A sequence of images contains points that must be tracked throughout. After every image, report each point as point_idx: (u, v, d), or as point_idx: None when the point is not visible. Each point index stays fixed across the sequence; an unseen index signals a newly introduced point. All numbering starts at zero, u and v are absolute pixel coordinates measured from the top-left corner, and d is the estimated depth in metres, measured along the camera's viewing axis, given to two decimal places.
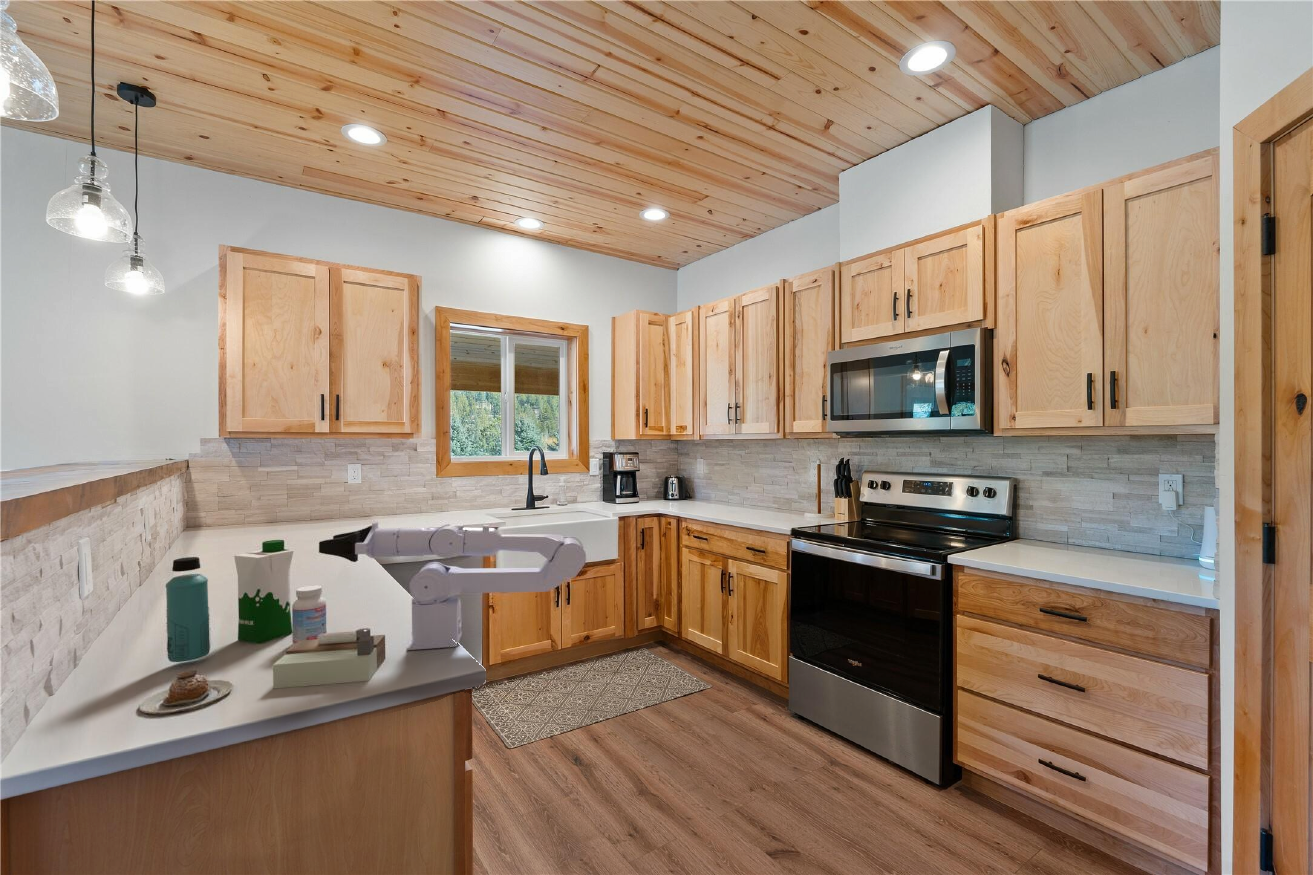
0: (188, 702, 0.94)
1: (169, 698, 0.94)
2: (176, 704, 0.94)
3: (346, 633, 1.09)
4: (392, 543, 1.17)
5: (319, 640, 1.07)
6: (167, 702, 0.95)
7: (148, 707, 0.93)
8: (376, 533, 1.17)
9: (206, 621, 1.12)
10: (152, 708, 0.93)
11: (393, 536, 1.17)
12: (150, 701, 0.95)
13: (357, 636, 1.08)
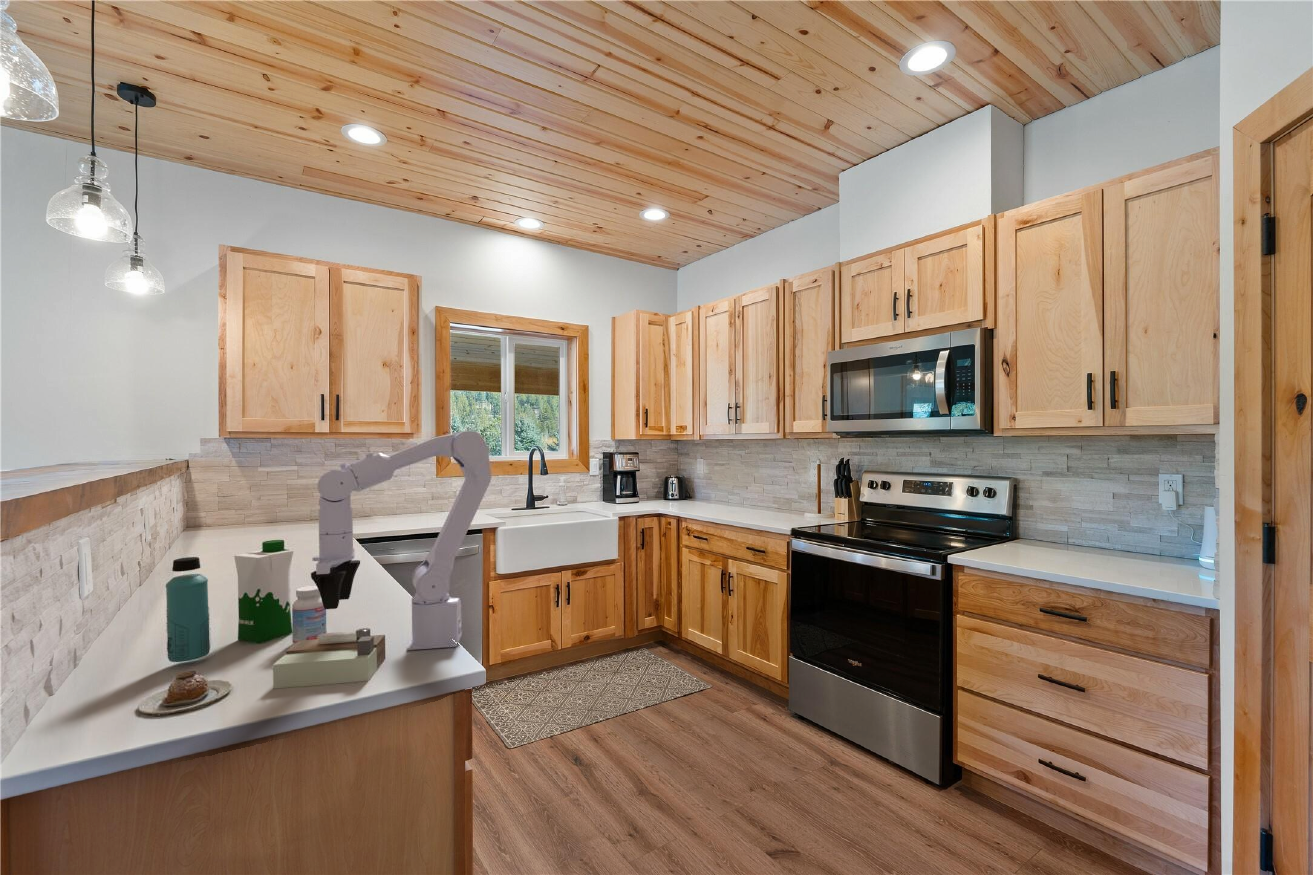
0: (187, 702, 0.94)
1: (168, 698, 0.94)
2: (175, 704, 0.94)
3: (346, 633, 1.09)
4: (329, 538, 1.10)
5: (319, 640, 1.07)
6: (166, 702, 0.94)
7: (147, 708, 0.92)
8: (320, 555, 1.11)
9: (206, 621, 1.12)
10: (151, 708, 0.92)
11: (322, 538, 1.11)
12: (149, 701, 0.95)
13: (357, 636, 1.08)
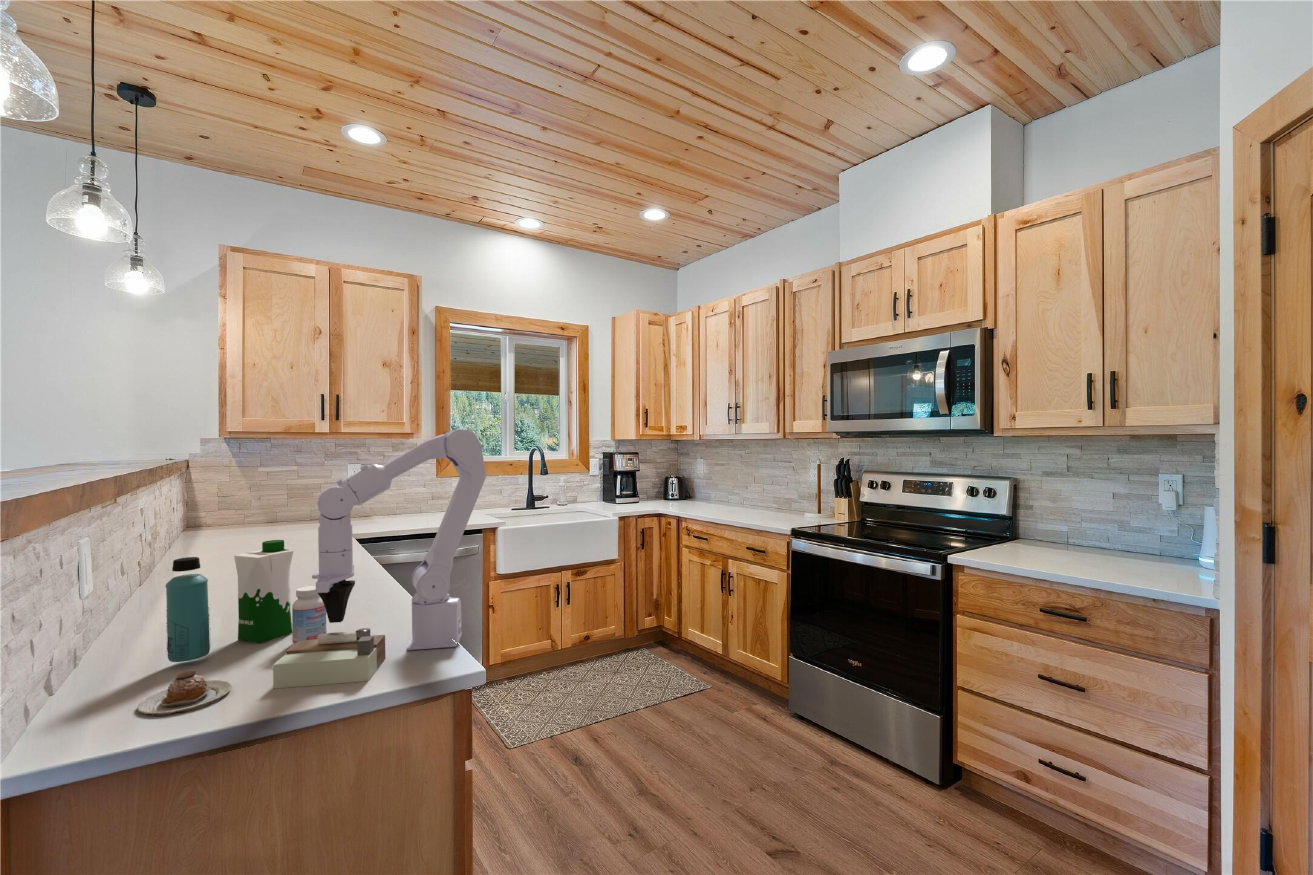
0: (187, 702, 0.94)
1: (167, 698, 0.94)
2: (174, 704, 0.93)
3: (346, 633, 1.09)
4: (329, 556, 1.10)
5: (319, 640, 1.07)
6: (165, 702, 0.94)
7: (146, 708, 0.92)
8: (320, 573, 1.11)
9: (206, 621, 1.12)
10: (150, 709, 0.92)
11: (322, 556, 1.10)
12: (148, 701, 0.95)
13: (357, 636, 1.08)
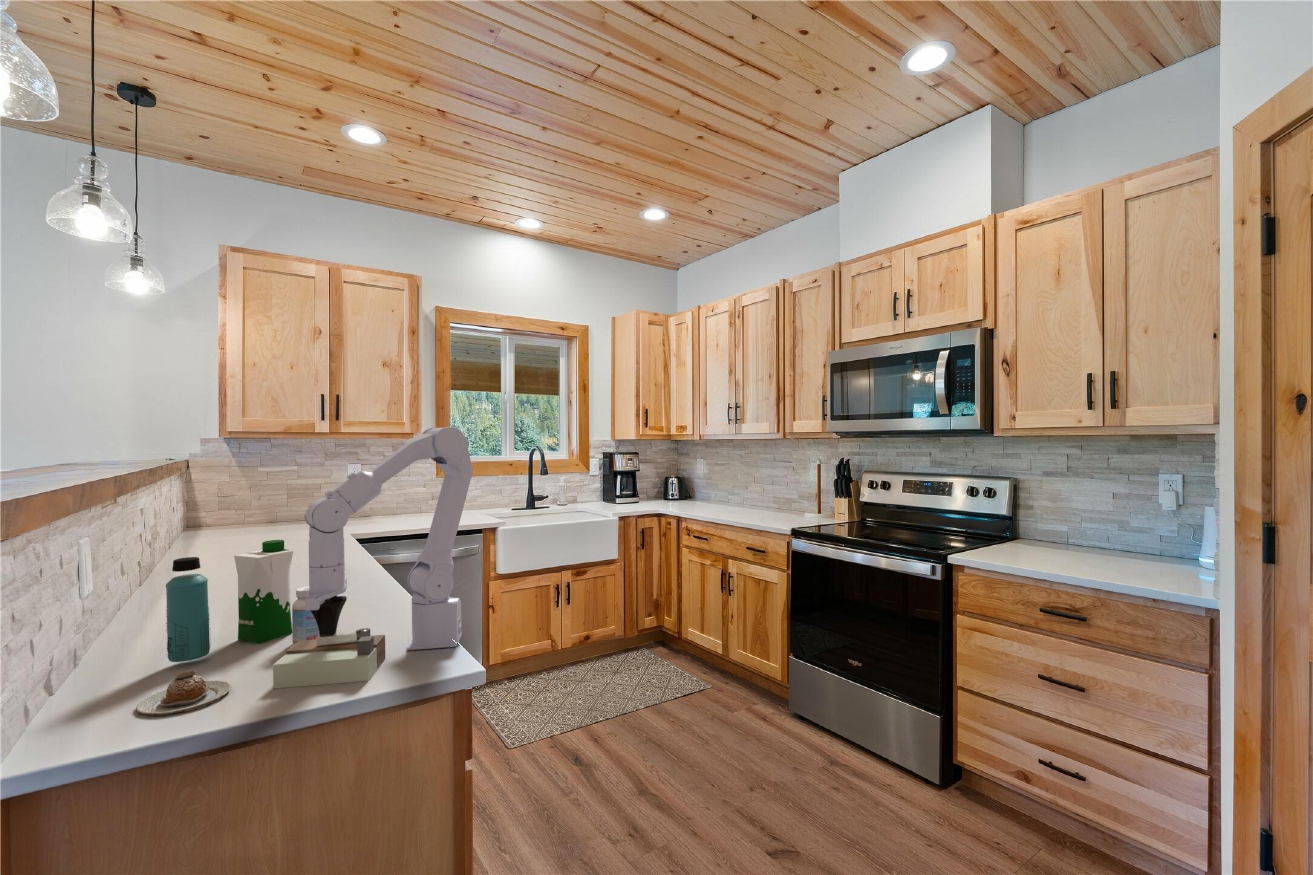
0: (186, 703, 0.94)
1: (167, 699, 0.94)
2: (174, 705, 0.93)
3: (346, 634, 1.08)
4: (319, 572, 1.06)
5: (318, 641, 1.07)
6: (165, 703, 0.94)
7: (146, 708, 0.92)
8: (310, 588, 1.06)
9: (206, 621, 1.12)
10: (149, 709, 0.92)
11: (312, 571, 1.06)
12: (147, 702, 0.94)
13: (358, 636, 1.08)
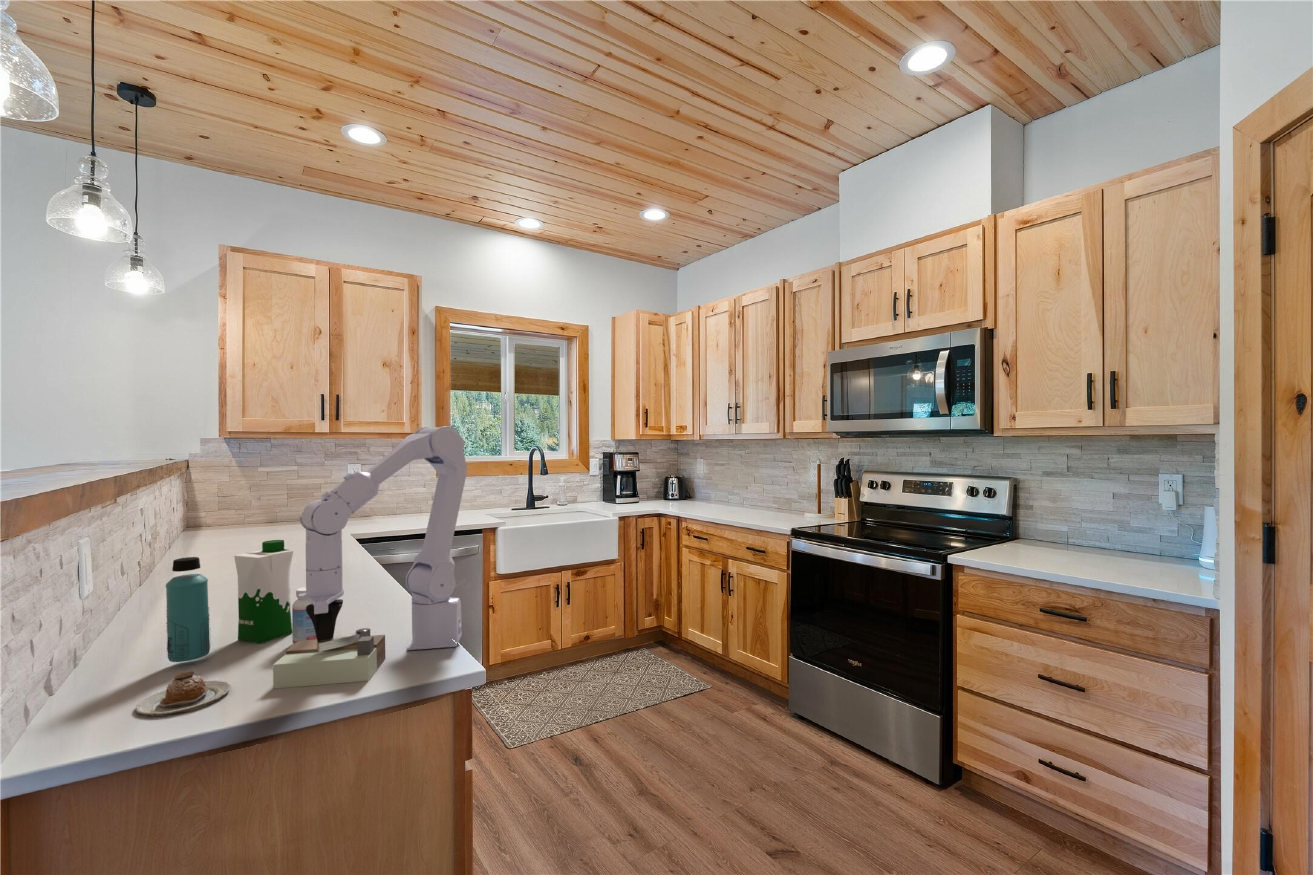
0: (185, 703, 0.94)
1: (166, 699, 0.94)
2: (173, 705, 0.93)
3: (347, 636, 1.07)
4: (321, 575, 1.04)
5: (321, 647, 1.04)
6: (164, 703, 0.94)
7: (145, 708, 0.92)
8: (310, 593, 1.04)
9: (206, 621, 1.12)
10: (149, 709, 0.92)
11: (313, 574, 1.03)
12: (147, 702, 0.94)
13: (361, 636, 1.08)
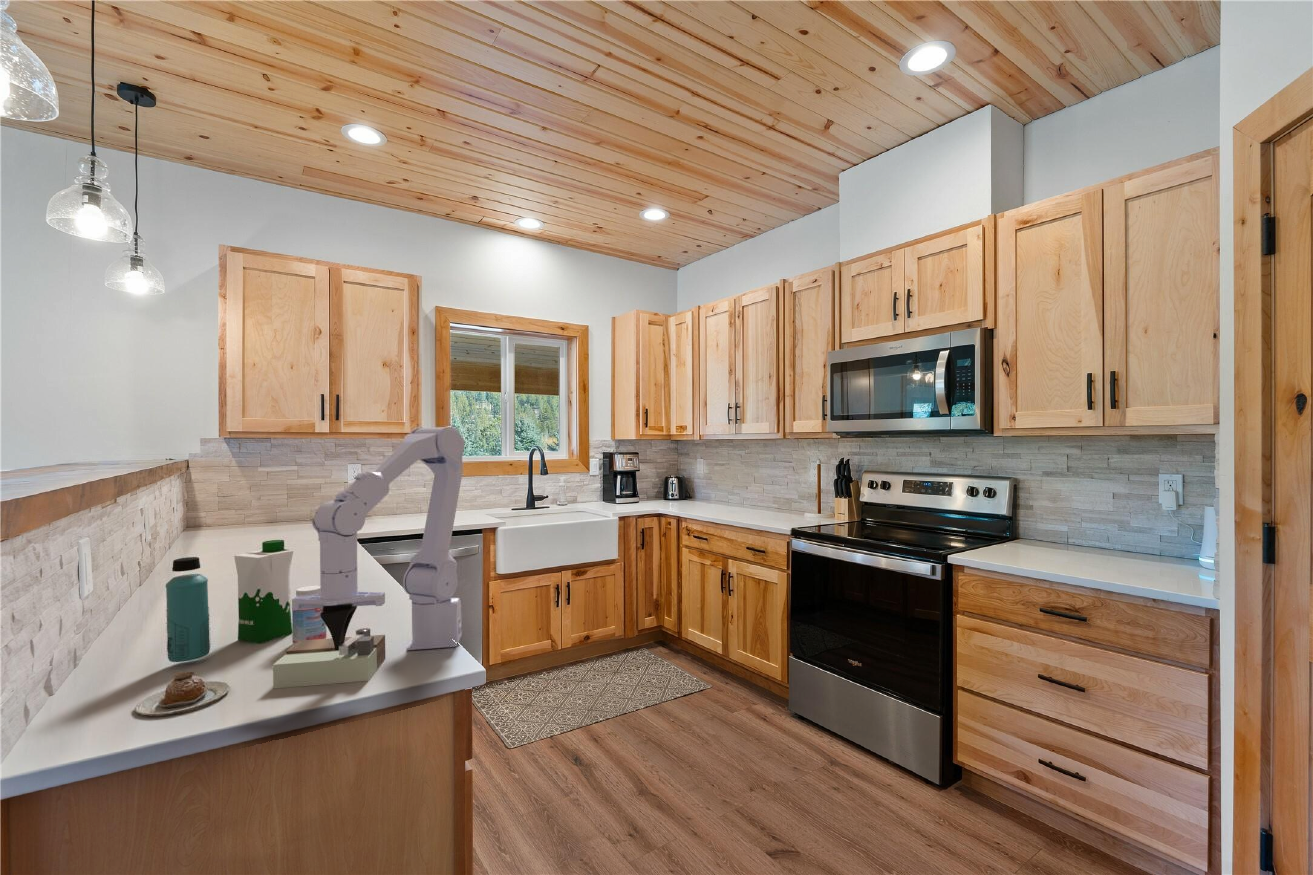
0: (184, 703, 0.94)
1: (165, 699, 0.94)
2: (172, 706, 0.93)
3: (357, 637, 1.07)
4: (355, 574, 1.04)
5: (348, 649, 1.02)
6: (163, 704, 0.94)
7: (144, 709, 0.92)
8: (346, 594, 1.02)
9: (206, 621, 1.12)
10: (148, 710, 0.92)
11: (350, 575, 1.02)
12: (146, 703, 0.94)
13: (367, 635, 1.09)
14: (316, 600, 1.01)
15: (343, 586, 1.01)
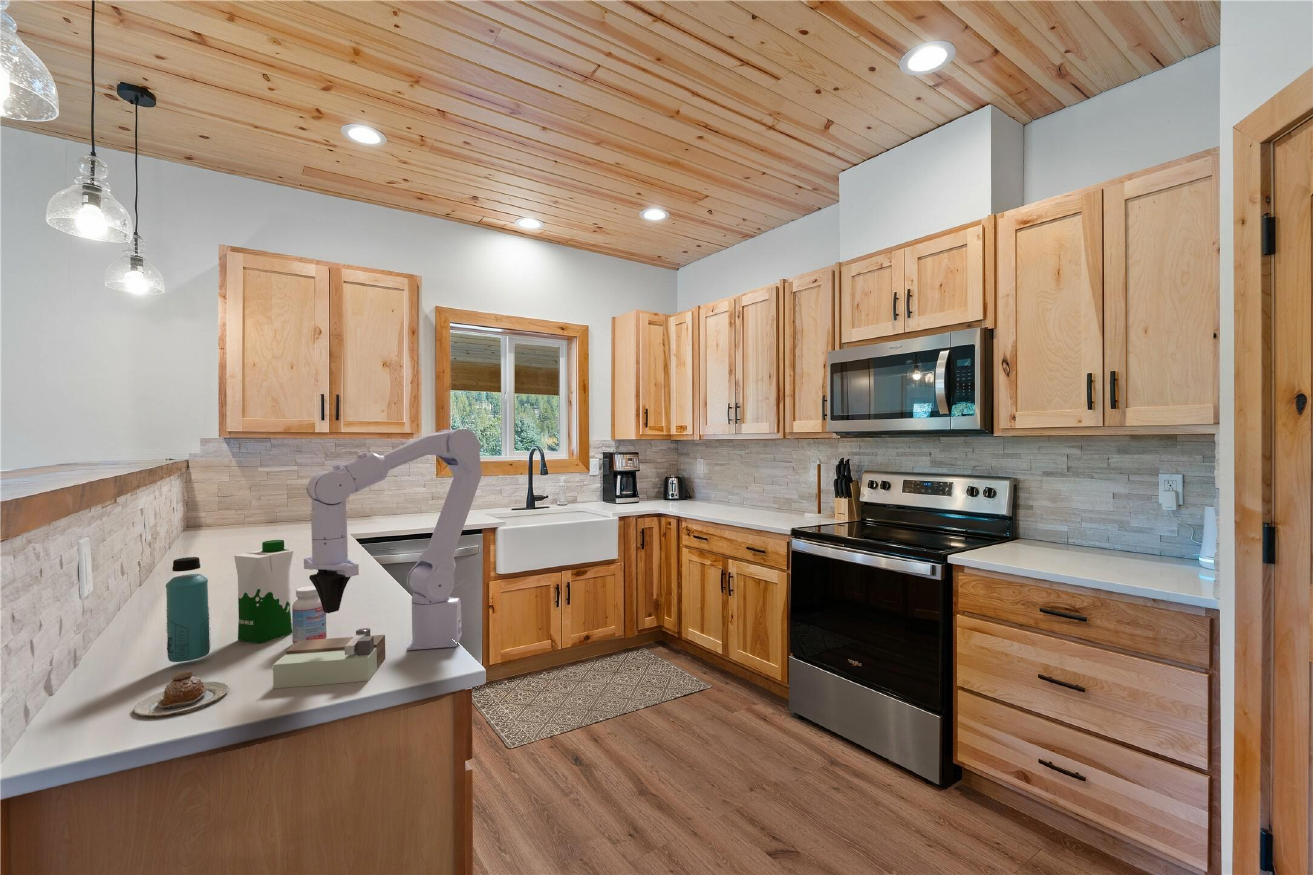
0: (183, 704, 0.93)
1: (164, 700, 0.94)
2: (171, 706, 0.93)
3: (359, 636, 1.07)
4: (337, 542, 1.07)
5: (354, 649, 1.02)
6: (162, 704, 0.94)
7: (143, 710, 0.92)
8: (324, 561, 1.06)
9: (206, 621, 1.12)
10: (147, 710, 0.92)
11: (329, 543, 1.06)
12: (145, 703, 0.94)
13: (368, 635, 1.09)
14: (309, 562, 1.08)
15: (321, 553, 1.06)
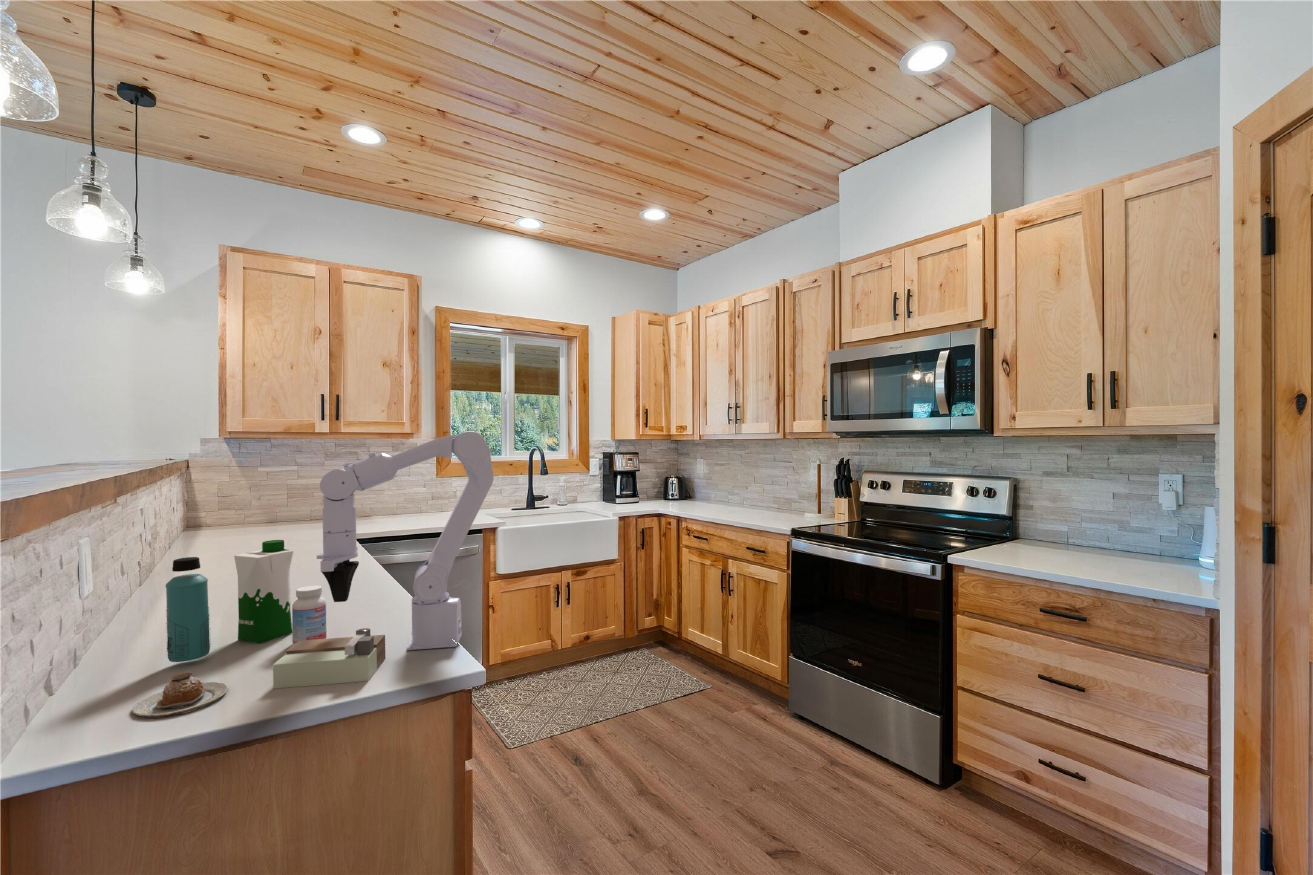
0: (182, 705, 0.93)
1: (163, 701, 0.93)
2: (170, 707, 0.93)
3: (359, 636, 1.07)
4: (333, 537, 1.12)
5: (354, 649, 1.02)
6: (161, 705, 0.94)
7: (142, 710, 0.92)
8: (324, 553, 1.13)
9: (206, 621, 1.12)
10: (146, 711, 0.92)
11: (326, 536, 1.13)
12: (144, 704, 0.94)
13: (368, 635, 1.09)
14: None
15: (323, 544, 1.13)
